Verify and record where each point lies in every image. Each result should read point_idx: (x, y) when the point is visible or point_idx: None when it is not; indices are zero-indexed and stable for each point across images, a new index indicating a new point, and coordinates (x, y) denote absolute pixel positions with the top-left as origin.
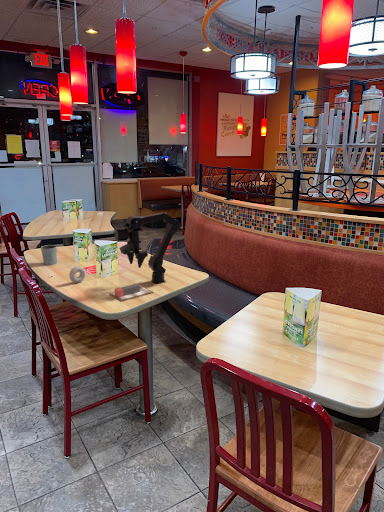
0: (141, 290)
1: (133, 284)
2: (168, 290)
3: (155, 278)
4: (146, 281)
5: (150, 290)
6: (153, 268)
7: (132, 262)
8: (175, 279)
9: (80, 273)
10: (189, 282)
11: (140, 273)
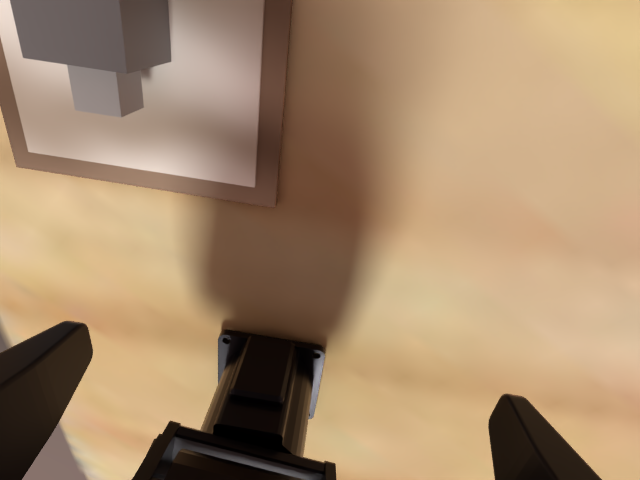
0: None
1: (118, 14)
2: (23, 288)
3: (234, 372)
4: (355, 319)
5: (78, 174)
6: (167, 474)
7: (494, 462)
8: None
9: None
10: (109, 459)
11: (577, 416)
